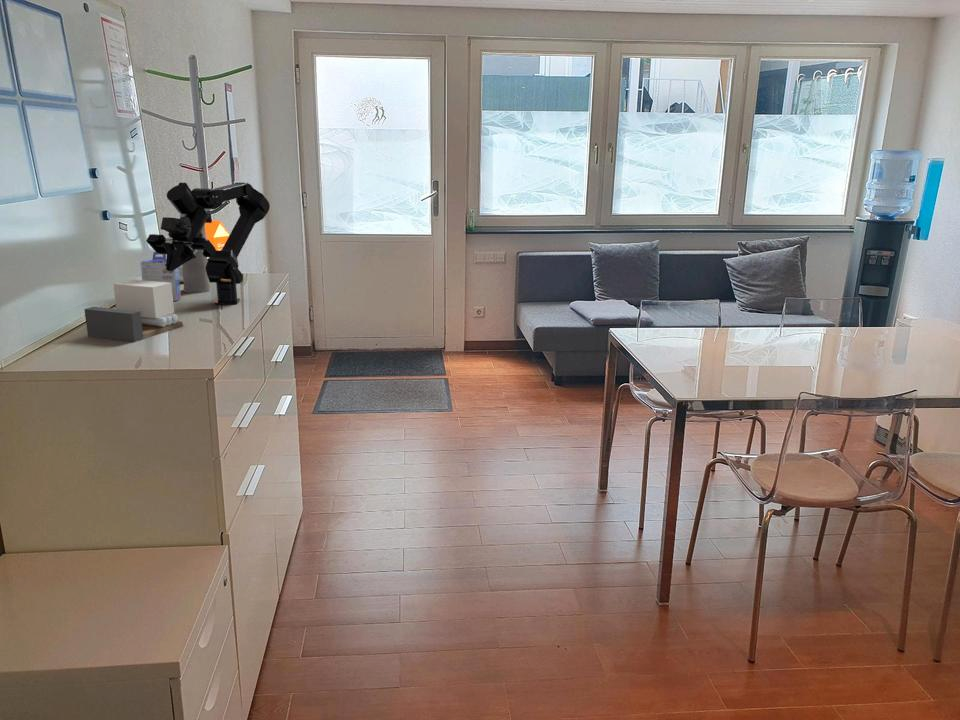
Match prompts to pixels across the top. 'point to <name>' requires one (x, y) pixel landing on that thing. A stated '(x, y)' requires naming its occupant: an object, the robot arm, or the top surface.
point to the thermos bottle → (196, 271)
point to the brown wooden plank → (159, 329)
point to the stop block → (114, 324)
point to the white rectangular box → (147, 301)
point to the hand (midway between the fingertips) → (168, 270)
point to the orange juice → (216, 234)
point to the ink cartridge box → (161, 273)
